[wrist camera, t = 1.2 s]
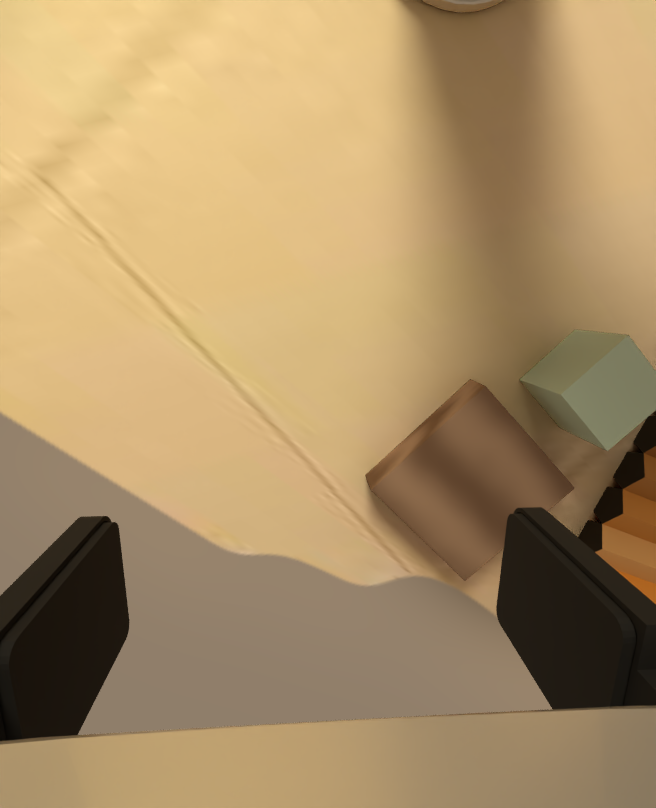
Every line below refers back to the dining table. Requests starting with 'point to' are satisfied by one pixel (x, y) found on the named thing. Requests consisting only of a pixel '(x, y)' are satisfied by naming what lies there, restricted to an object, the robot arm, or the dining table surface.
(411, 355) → the dining table surface
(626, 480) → the pan flute
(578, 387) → the sage cube
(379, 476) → the walnut stand
